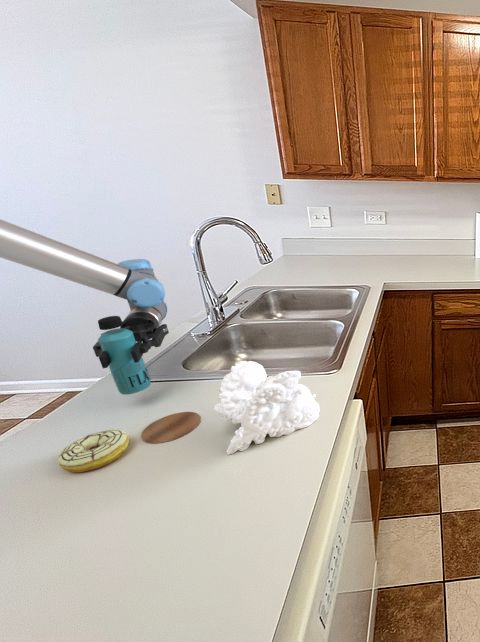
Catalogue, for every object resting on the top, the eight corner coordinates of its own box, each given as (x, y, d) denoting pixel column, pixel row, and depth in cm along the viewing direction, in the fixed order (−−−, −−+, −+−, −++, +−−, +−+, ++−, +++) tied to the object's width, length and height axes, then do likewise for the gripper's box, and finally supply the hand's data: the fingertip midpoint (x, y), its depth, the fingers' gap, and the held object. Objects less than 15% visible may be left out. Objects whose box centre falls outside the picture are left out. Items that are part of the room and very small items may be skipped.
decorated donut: (97, 439, 87) (91, 425, 85) (144, 441, 86) (139, 426, 85) (46, 474, 77) (38, 459, 76) (99, 476, 76) (92, 461, 75)
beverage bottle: (134, 402, 94) (103, 324, 86) (113, 398, 95) (81, 322, 88) (160, 387, 100) (134, 314, 92) (140, 384, 101) (113, 311, 94)
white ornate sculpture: (345, 376, 94) (269, 367, 77) (321, 462, 91) (237, 472, 74) (294, 361, 103) (216, 350, 86) (271, 439, 100) (186, 443, 83)
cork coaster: (128, 442, 86) (127, 440, 86) (168, 412, 96) (168, 410, 96) (175, 445, 85) (175, 443, 85) (211, 414, 95) (211, 412, 95)
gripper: (185, 330, 113) (172, 365, 94) (103, 343, 105) (71, 384, 86) (178, 306, 111) (163, 336, 92) (94, 317, 103) (58, 353, 84)
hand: (119, 359), depth 89 cm, fingers closed on beverage bottle, 5 cm apart
